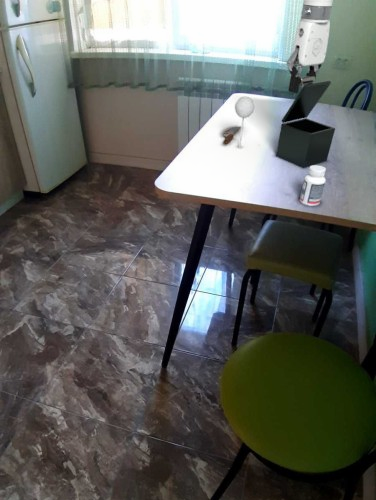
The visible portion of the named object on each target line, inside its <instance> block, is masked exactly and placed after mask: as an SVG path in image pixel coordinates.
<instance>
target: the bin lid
mask: <svg viewBox="0 0 376 500" xmlns="http://www.w3.org/2000/svg"><path fill="white" fill-rule="evenodd" d="M300 77H301V79H300V84H299V86H301V89H300V91H299V92H298V93H297V96H296V97H295V99H294V100H293V102H292V104H291V105H290V107H289V108H288V110H287V111H286V113H285V115H284V116H283V118H282V119H281V124H283V123H287V122H292V121H296V120H300V119H305V118H307V119H308V116H309V115H310V113H312V111H313V110H314V108H315V106H316V105H317V104H318V103H319V101H320V100H321V98H322V97H323V96H324V94H325V93H326V91H327V89H328V88H329V87H330V85H332V82H331V80H327V81H321V82H317V81H316V79H315V77H314V76H313V75H312V76H306V75H305V76H300ZM311 83H312V84H311ZM305 84H308V85H305Z"/></svg>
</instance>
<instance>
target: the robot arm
mask: <svg viewBox="0 0 376 500" xmlns="http://www.w3.org/2000/svg"><path fill="white" fill-rule="evenodd" d="M302 1H303V3H302V7H301V13H300V19H299V21H298V24H297V28H296V32H295V35H294V39H293V42H292V43H293V44H292V48H291V53H290V54H291V55H290V56H289V58H288V59H287V61H286V65H287V68H288V71H289V76H290V80H289V85H288V92H290V93H292V94H299V90H300V85H299V84H300V79H301V77H302V76H301V73H302V71H303V69H304V67H307V68H308V69H307V71H308V72H306V74H305V76H312V75H313V76H314V77H315V80H316V78H317V75H318V74H319V71H320V69H321V67H322V65H323V63H324V62H325V61H326V57H327V56H326V55H327V50H328V44H329V38H330V37H329V36H330V28H331V21H330V17H331V12H332V7H333V3H334V0H302ZM297 67H298V68H297ZM311 84H312V83H311ZM305 85H308V84H305Z"/></svg>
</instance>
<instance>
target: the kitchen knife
mask: <svg viewBox="0 0 376 500" xmlns="http://www.w3.org/2000/svg"><path fill="white" fill-rule="evenodd" d="M240 129H241V126H234V127H231V128H229V129H226V130H224V131H223V132H222V136H223V137H225V138H224V140H223V144H224V145H227V144H229V143H230V142H231V141H232V140H233V139H234V135H236V133H237V132H238V131H239V130H240Z"/></svg>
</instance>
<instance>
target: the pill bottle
mask: <svg viewBox="0 0 376 500" xmlns="http://www.w3.org/2000/svg"><path fill="white" fill-rule="evenodd" d="M326 171H327V168H326V167H324V166H322V165H319V164H316V165H312V166H309V167H308V174H306V175H305V177H304V179H303V183H302V187H301V192H300V196H299V202H300V203H301V204H303V205H304V206H305V205H306V206H309V207H316V206H318V205H320V203H321V200H322V196H323V192H324V188H325V185H326V181H327V180H326V177H325V174H326Z"/></svg>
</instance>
